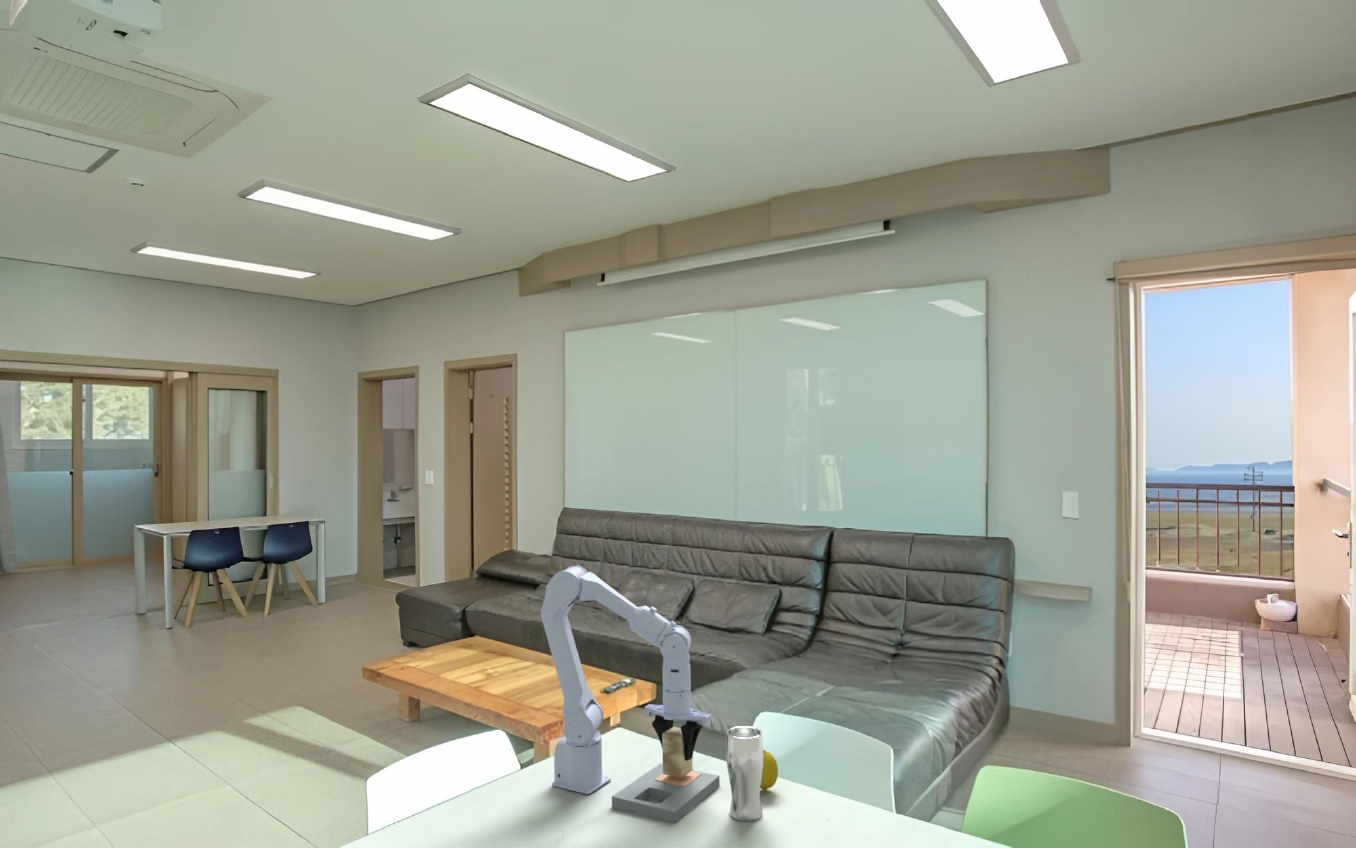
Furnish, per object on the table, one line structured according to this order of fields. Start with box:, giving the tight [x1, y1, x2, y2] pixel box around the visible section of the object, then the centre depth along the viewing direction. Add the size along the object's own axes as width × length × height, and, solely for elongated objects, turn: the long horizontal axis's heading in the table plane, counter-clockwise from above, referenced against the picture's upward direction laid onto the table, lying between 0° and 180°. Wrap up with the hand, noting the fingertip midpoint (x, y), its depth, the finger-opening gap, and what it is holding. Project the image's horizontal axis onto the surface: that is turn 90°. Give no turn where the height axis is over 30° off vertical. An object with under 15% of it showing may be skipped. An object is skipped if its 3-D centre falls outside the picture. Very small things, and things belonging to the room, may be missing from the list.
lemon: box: [760, 749, 779, 792], centre depth 151 cm, size 6×6×8 cm
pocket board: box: [611, 762, 721, 824], centre depth 149 cm, size 14×18×2 cm
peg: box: [661, 726, 694, 778], centre depth 153 cm, size 4×4×8 cm
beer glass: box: [725, 725, 764, 823], centre depth 141 cm, size 7×7×15 cm
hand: (678, 756), depth 153 cm, fingers closed on peg, 4 cm apart
